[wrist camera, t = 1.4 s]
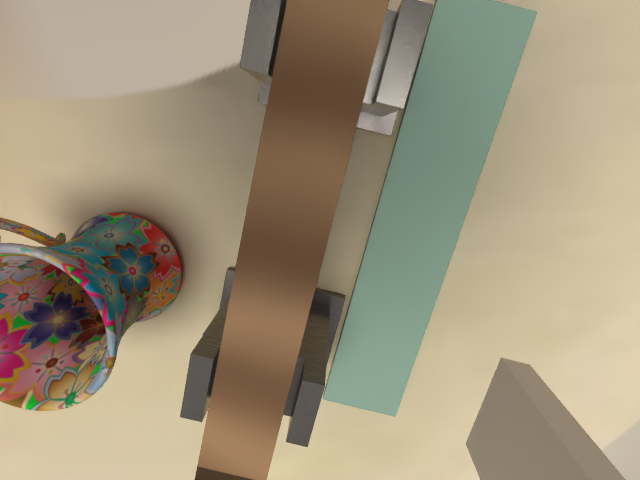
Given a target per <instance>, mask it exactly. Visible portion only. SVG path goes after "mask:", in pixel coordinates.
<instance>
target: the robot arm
mask: <svg viewBox="0 0 640 480" xmlns="http://www.w3.org/2000/svg"><path fill="white" fill-rule="evenodd" d="M0 241H1V236H0ZM466 446H467V448H468V450H469V453H470V455H471V458H472V460H473V463H474V465H475V467H476V470H477V472H478V475H479V477H480V480H625V478H624V477H623V476H622V475H621V474H620V472H619V471H618V470H617V469H616V468H615V466H614V465H613V464H612V463H611V462H610V461H609V459H608V458H607V457H606V456H605V454H604V453H603V452H602V451H601V450H600V448H599V447H598V446H597V445H596V444H595V442H594V441H593V440H592V439H591V438H590V436H589V435H588V434H587V433H586V432H585V430H584V429H583V428H582V427H581V426H580V424H579V423H578V422H577V421H576V420H575V418H574V417H573V416H572V415H571V414H570V412H569V411H568V410H567V409H566V408H565V406H564V405H563V404H562V403H561V402H560V400H559V399H558V398H557V397H556V396H555V394H554V393H553V392H552V391H551V390H550V388H549V387H548V386H547V385H546V384H545V382H544V381H543V380H542V379H541V378H540V376H539V375H538V374H537V373H536V372H535V370H534V369H533V368H532V367H531V366H530V365H529V364H525V363H521V362H517V361H512V360H508V359H504V358H501V359H500V361H499V364H498V366H497V369H496V371H495V374H494V376H493V379H492V381H491V383H490V386H489V388H488V391H487V393H486V396H485V398H484V400H483V403H482V405H481V408H480V410H479V413H478V415H477V417H476V420H475V422H474V425H473V427H472V430H471V432H470V435H469V437H468V439H467V442H466Z"/></svg>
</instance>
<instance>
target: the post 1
mask: <svg viewBox="0 0 640 480" xmlns="http://www.w3.org/2000/svg"><path fill="white" fill-rule="evenodd" d="M286 4H287V0H251V3H250V9H249V15H248V20H247V27H246V32H245V38H244V45H243V50H242V56H241V62H240V68H242V69H243V70H245V71H246V72H248V73H249V74H250V75H252V76H253V77H255V78H256V79H258V80H260V81H261V82H262V83H261V89H260V94H259V100H258V103H261V104H265V105H267V102H268V97H269V92H270V87H271V82H272V76H273V71H274V66H275V61H276V56H277V50H278V45H279V40H280V35H281V30H282V24H283V19H284V14H285V9H286ZM432 7H433V4H429V3H425V2H421V1H417V0H402V2H401V4H400V6H399V8H398V10H397V12H394V11H391V10H386V14H385V18H384V22H383V26H382V30H381V34H380V38H379V42H378V46H377V49H376V53H375V57H374V61H373V65H372V69H371V73H370V77H369V81H368V85H367V89H366V92H365V96H364V100H363V104H362V108H361V112H360V116H359V120H358V124H357V128H361V129H365V130H369V131H373V132H377V133H381V134H385V135H389V136H391V134H392V130H393V126H394V123H395V119H396V116H397V112H398V110H401V109H404V105H405V102H406V98H407V95H408V91H409V88H410V84H411V81H412V77H413V74H414V70H415V67H416V63H417V60H418V56H419V53H420V49H421V46H422V42H423V39H424V35H425V32H426V28H427V24H428V21H429V17H430V14H431V10H432Z"/></svg>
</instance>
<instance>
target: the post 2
mask: <svg viewBox="0 0 640 480" xmlns="http://www.w3.org/2000/svg"><path fill="white" fill-rule="evenodd" d="M234 274H235V268H230V267H229V268H228V269H227V272H226V277H225V282H224V288H223V293H222V298H221V304H220V309H219V311H218V313H217V314H216V316H215V317H214V319H213V320H212V322H211V323H210V325H209V326H208V328H207V329H206V330H205V332H204V333H203V336H202V338H201V339H200V341H199V342H198V344H197V345H196V347H195V348H194V350H193V351H192V353H191V356H190V362H189V368H188V374H187V379H186V385H185V391H184V397H183V403H182V409H181V415H180V417H182V418H187V419H191V420H195V421H199V422H202V420H203V418H204V416H205V414H206V412H207V410H208V408H209V404H210V399H211V393H212V388H213V383H214V378H215V373H216V367H217V362H218V357H219V352H220V347H221V341H222V336H223V331H224V326H225V321H226V315H227V310H228V305H229V300H230V295H231V289H232V284H233V279H234ZM344 301H345V295H341V294H337V293H333V292H329V291H325V290H321V289H317V288H315V292H314V296H313V300H312V304H311V307H310V311H309V315H308V319H307V323H306V327H305V331H304V335H303V339H302V343H301V346H300V350H299V354H298V358H297V362H296V366H295V370H294V374H293V378H292V382H291V386H290V389H289V393H288V397H287V401H286V405H285V409H284V413H283V415H287V416H290V422H289V428H288V434H287V439H286V442H288V443H292V444H297V445H301V446H305V447H308V443H309V440H310V436H311V433H312V429H313V426H314V422H315V419H316V415H317V412H318V408H319V405H320V401H321V398H322V394H323V391H324V387H325V375H326V366H327V362H328V358H329V354H330V351H331V347H332V344H333V340H334V337H335V333H336V330H337V326H338V322H339V319H340V315H341V312H342V308H343V305H344Z"/></svg>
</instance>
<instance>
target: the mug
mask: <svg viewBox="0 0 640 480" xmlns="http://www.w3.org/2000/svg"><path fill="white" fill-rule="evenodd" d="M0 229H3V230H7V231H10V232H14V233H17V234H19V235H22V236H25V237H27V238H30V239H32V240H34V241H37V242H39V243H41V244H43V245H45V246H47V247H36V246H29V245H24V244H14V243H0V401H1V402H4V403H6V404H9V405H12V406H15V407H19V408H23V409H29V410H37V411H52V410H60V409H64V408H68V407H71V406H74V405H77V404H79V403H81V402H83V401H85V400H86V399H88V398H89V397H91V396H92V395H93V394H95V393H96V392H97V391H98V390H99V389H100V388H101V387H102V386H103V384H104V383H105V382H106V380H107V379H108V377H109V375H110V373H111V371H112V369H113V366H114V363H115V360H116V355H117V350H118V346H119V343H120V341H121V338H122V336H123V335H124V333H125V332H126V331H127V329H128V328H129V327H130V326H131V325H132V324H134V323H135V322H140V321H145V320H148V319H151V318H153V317H156V316H158V315H159V314H161V313H162V312H164V311H165V310H166V309H167V308H168V307H169V306H170V305H171V304H172V302H173V301H174V299H175V298H176V296H177V293H178V291H179V287H180V283H181V266H180V261H179V258H178V255H177V253H176V250H175V248H174V247H173V245H172V243H171V242H170V240H169V239H168V238H167V237H166V235H165V234H164V233H163V232H162V231H161V230H160V229H158V228H157V227H156V226H155V225H153V224H152V223H150V222H148V221H147V220H145V219H142V218H140V217H137V216H134V215H131V214H125V213H107V214H102V215H99V216H96V217H94V218H92V219H90V220H88V221H87V222H85V223H84V224H83V225H82V226H81V227H80V228H79V229H78V230H77V231H76V232H75V234H74V235H73V237H72V239H71V240H70V241H68V242H66V243H65V241H66V237H65V234H64V233H60V234H58V235H57V237H56V239H55V238H53V237H51V236H49V235H47V234H45V233H43V232H41V231H39V230H36V229H34V228H32V227H29V226H26V225H24V224H21V223H18V222H15V221H11V220H8V219H4V218H0Z"/></svg>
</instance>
